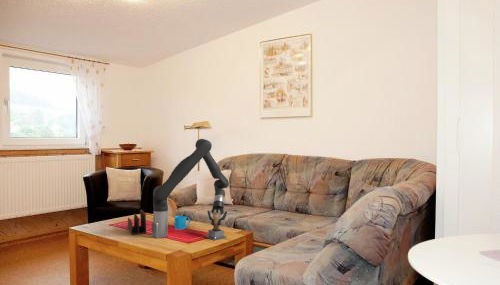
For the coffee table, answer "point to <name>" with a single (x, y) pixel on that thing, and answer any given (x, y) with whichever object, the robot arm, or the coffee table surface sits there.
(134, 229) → the letter holder
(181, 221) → the mug
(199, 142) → the robot arm
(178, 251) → the coffee table surface
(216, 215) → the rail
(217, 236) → the grey square block
